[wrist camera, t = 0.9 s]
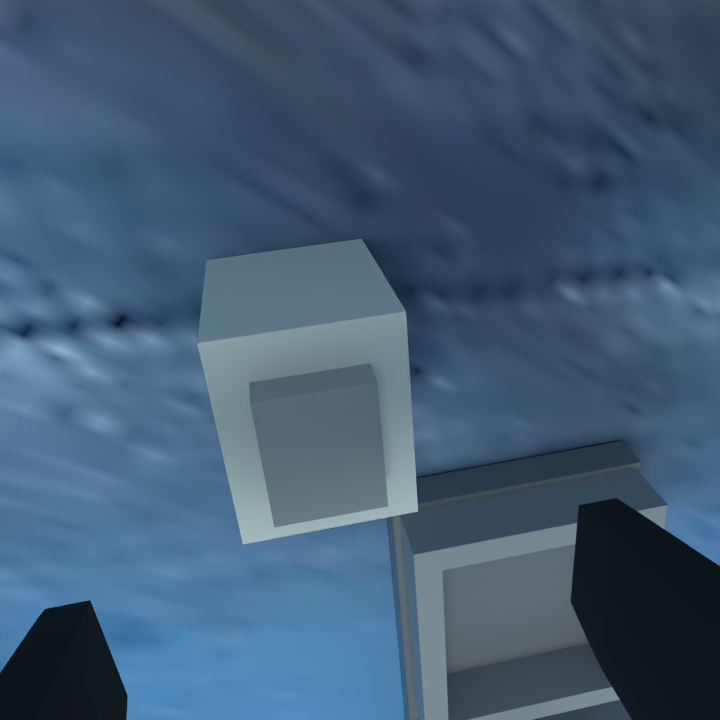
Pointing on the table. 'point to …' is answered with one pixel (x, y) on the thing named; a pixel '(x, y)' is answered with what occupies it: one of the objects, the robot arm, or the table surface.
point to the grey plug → (309, 388)
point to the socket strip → (505, 587)
